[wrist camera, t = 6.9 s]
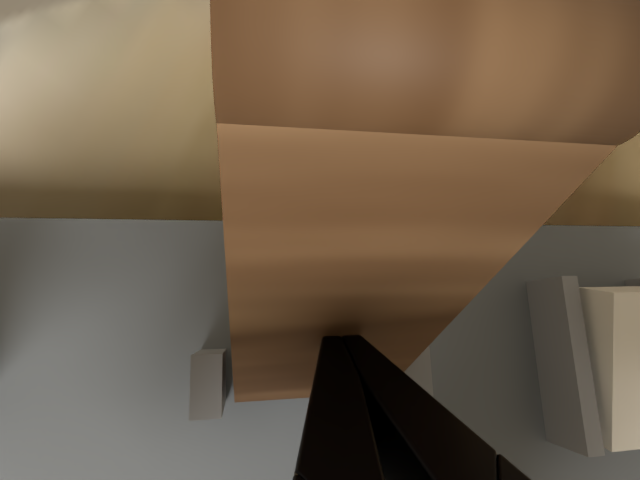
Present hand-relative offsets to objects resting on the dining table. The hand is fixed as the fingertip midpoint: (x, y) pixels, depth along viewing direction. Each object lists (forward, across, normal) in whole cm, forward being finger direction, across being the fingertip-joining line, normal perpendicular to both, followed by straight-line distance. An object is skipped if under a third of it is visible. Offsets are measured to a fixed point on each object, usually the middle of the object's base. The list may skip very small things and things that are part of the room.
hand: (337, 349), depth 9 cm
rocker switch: (+2, +11, -4) cm, 12 cm away
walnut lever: (+2, 0, -4) cm, 4 cm away
